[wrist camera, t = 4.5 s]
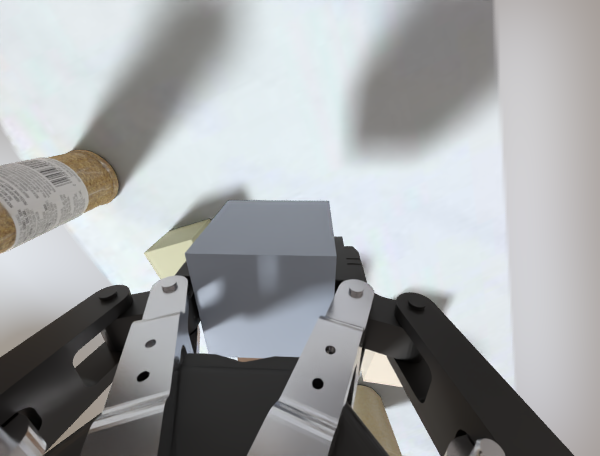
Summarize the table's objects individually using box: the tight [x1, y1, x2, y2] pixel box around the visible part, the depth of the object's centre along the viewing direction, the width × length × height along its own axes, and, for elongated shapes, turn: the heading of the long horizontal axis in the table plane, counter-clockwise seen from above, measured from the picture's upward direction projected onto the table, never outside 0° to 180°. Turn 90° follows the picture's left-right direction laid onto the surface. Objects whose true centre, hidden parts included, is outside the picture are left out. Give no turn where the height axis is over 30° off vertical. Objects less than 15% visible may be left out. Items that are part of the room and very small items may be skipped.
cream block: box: [361, 349, 403, 387], centre depth 25 cm, size 5×4×4 cm
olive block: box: [144, 219, 211, 279], centre depth 22 cm, size 6×4×4 cm, turn 18°
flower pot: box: [353, 385, 402, 456], centre depth 28 cm, size 9×9×9 cm
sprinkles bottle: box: [0, 150, 119, 254], centre depth 15 cm, size 5×5×13 cm
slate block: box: [185, 200, 337, 358], centre depth 12 cm, size 5×5×5 cm
